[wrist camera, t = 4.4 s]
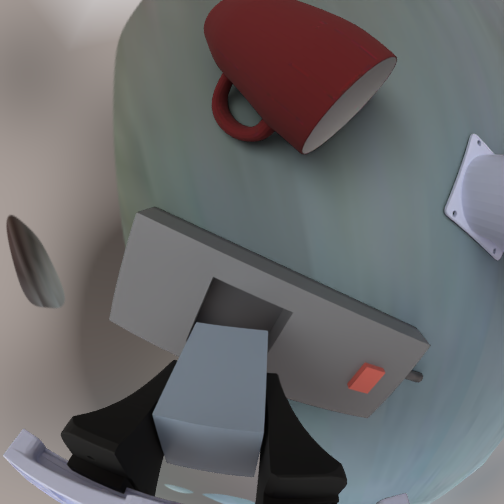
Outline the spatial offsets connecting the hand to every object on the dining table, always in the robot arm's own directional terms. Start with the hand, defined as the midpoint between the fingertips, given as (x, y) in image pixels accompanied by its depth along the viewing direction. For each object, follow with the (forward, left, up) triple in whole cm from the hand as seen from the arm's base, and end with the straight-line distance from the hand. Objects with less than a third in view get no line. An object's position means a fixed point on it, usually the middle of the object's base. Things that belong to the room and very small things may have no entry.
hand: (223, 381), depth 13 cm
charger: (0, 0, -2) cm, 3 cm away
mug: (+10, -18, -6) cm, 21 cm away
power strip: (-6, 0, -8) cm, 10 cm away
